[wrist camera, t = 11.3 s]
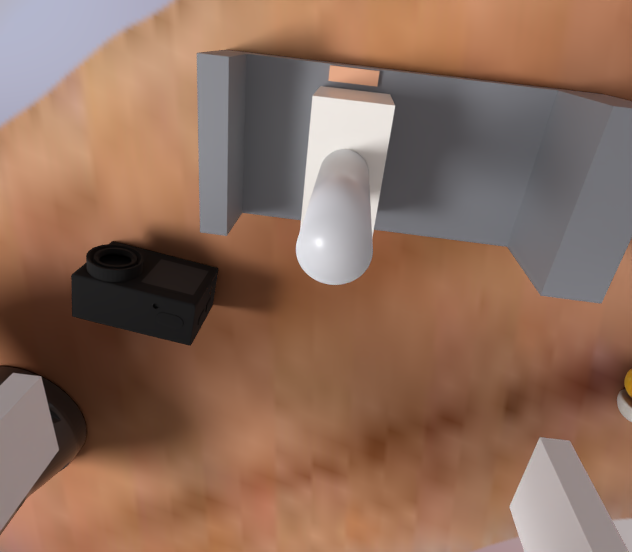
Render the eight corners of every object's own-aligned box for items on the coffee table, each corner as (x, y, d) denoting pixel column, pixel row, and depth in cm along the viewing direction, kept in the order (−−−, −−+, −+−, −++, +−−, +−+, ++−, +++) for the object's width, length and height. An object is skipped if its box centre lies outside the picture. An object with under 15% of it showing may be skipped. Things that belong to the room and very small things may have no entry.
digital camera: (222, 256, 43) (198, 294, 37) (214, 304, 45) (191, 347, 39) (112, 228, 43) (70, 261, 36) (110, 278, 45) (70, 317, 39)
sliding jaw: (308, 205, 37) (268, 331, 21) (320, 85, 33) (281, 133, 17) (370, 212, 37) (376, 346, 21) (389, 94, 33) (416, 149, 17)
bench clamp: (224, 201, 40) (186, 249, 31) (226, 49, 35) (179, 55, 26) (547, 243, 39) (601, 303, 31) (603, 94, 34) (688, 115, 25)
